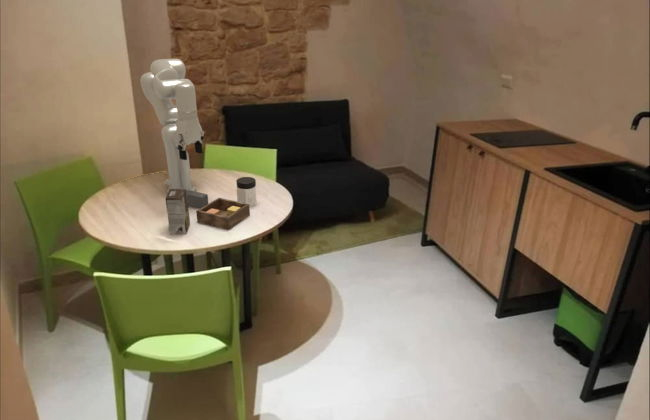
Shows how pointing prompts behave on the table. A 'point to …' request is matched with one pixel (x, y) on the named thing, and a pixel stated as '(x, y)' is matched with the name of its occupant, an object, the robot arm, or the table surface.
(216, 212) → the terracotta block
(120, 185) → the table surface
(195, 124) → the robot arm
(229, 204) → the box
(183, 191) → the coffee box
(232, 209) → the mustard block
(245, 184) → the jar
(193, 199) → the lid
